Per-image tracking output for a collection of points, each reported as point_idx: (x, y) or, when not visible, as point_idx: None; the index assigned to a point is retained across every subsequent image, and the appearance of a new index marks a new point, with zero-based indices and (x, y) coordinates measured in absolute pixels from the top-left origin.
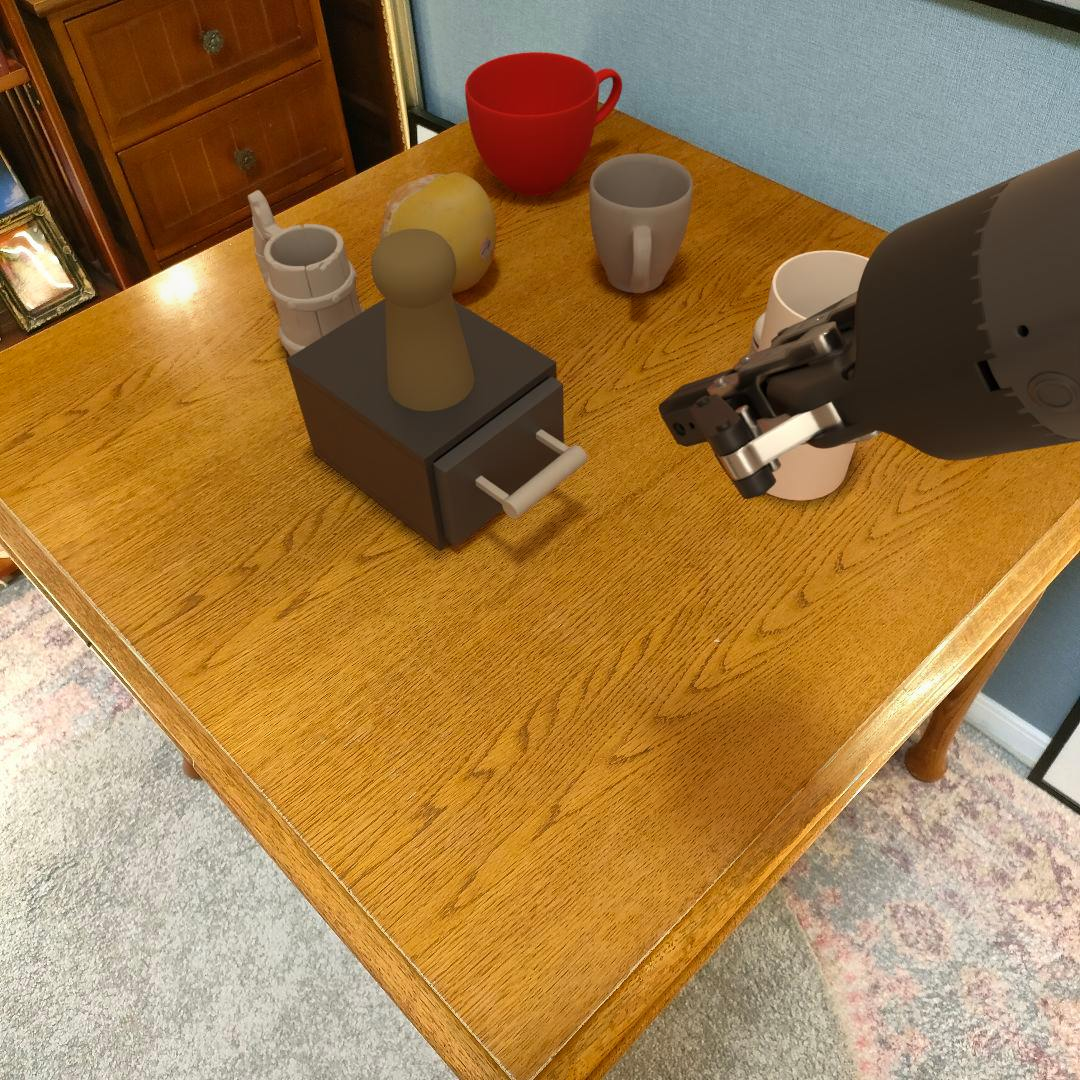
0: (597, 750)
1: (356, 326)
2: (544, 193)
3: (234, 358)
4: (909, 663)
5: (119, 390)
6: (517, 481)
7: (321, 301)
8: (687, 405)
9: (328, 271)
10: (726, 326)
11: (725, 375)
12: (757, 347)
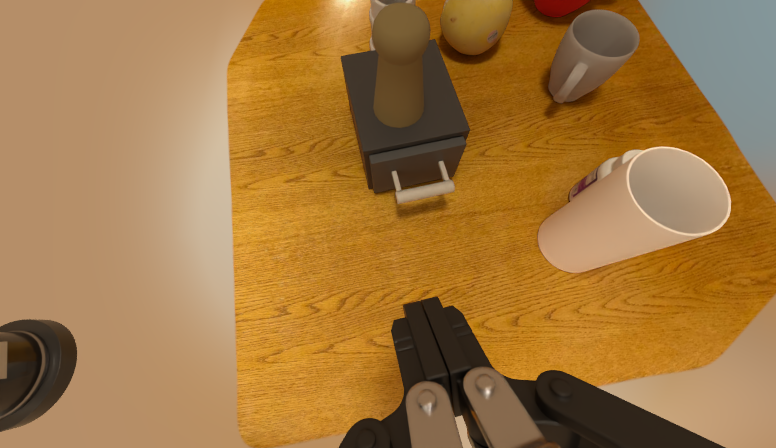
0: (367, 331)
1: None
2: (551, 16)
3: (349, 40)
4: None
5: (295, 33)
6: (420, 177)
7: None
8: (410, 345)
9: None
10: (592, 144)
11: (453, 372)
12: (595, 175)
